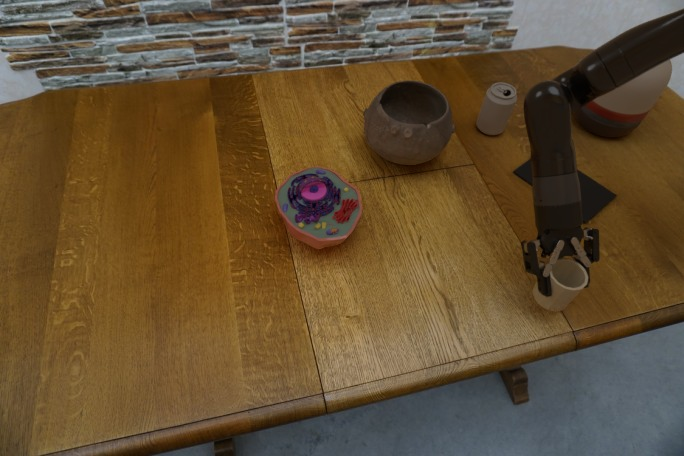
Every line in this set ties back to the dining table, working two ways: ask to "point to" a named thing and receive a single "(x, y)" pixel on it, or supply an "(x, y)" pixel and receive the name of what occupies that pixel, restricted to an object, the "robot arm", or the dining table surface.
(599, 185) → the mat
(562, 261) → the cup
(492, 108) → the can
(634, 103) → the vase
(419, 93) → the clay pot
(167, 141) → the dining table surface
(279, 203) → the cell model
